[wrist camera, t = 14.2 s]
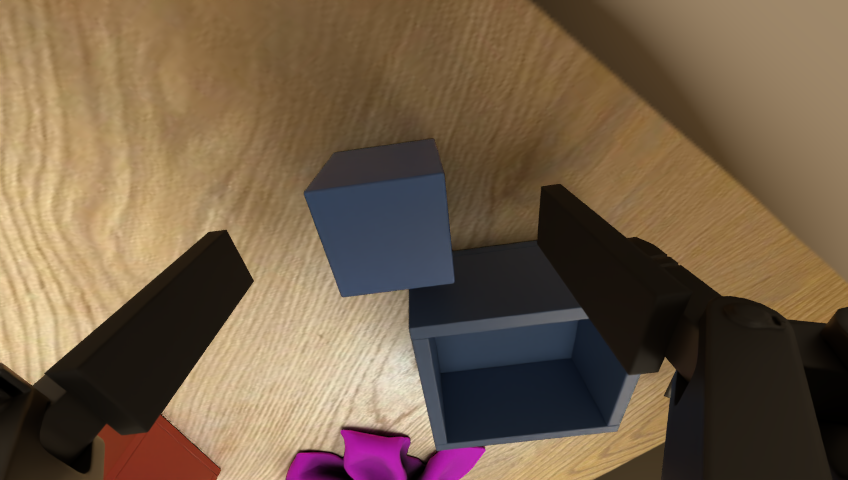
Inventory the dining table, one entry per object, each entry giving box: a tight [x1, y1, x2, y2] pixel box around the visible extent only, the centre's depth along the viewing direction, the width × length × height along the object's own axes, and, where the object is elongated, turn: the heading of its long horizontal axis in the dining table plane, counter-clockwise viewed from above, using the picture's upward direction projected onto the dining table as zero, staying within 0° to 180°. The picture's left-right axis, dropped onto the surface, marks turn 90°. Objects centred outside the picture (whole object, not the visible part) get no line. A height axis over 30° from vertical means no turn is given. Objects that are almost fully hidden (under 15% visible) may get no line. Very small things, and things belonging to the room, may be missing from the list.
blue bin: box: [409, 240, 641, 451], centre depth 19 cm, size 12×12×6 cm
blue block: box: [304, 139, 455, 297], centre depth 14 cm, size 5×5×5 cm
